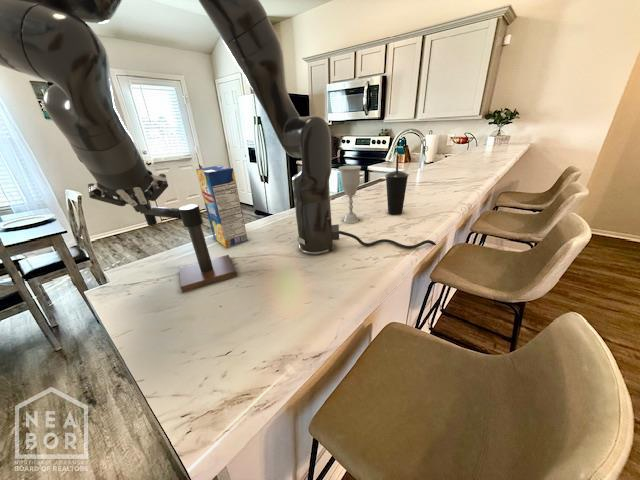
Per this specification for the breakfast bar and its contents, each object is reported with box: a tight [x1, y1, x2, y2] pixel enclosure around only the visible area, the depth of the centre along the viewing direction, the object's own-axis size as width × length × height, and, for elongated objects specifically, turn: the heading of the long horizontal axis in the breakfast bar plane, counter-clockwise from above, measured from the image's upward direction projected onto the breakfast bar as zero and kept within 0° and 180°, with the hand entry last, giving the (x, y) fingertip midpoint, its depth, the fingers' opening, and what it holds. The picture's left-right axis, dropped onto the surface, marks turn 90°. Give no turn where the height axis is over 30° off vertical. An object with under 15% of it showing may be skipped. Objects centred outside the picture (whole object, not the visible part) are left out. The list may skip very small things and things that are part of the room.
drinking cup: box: [384, 154, 410, 216], centre depth 90 cm, size 8×8×20 cm
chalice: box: [338, 165, 362, 224], centre depth 87 cm, size 7×7×18 cm
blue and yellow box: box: [195, 165, 249, 248], centre depth 79 cm, size 7×11×22 cm, turn 40°
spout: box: [143, 204, 204, 228], centre depth 61 cm, size 17×4×5 cm, turn 68°
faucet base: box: [179, 224, 238, 293], centre depth 62 cm, size 12×10×13 cm
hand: (144, 209), depth 56 cm, fingers closed
